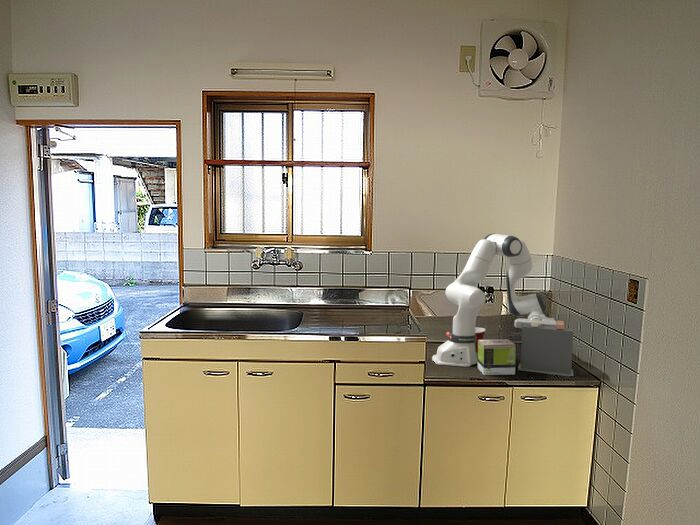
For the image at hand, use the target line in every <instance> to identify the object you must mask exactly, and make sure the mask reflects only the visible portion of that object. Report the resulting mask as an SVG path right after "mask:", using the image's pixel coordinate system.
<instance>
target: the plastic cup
mask: <svg viewBox="0 0 700 525" xmlns="http://www.w3.org/2000/svg"><path fill="white" fill-rule="evenodd" d="M485 332H486V328H483V327H476V326H475V334H476V345H475V350H476V353H478V340H484V336H485Z"/></svg>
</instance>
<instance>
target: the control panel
mask: <svg viewBox="0 0 700 525" xmlns="http://www.w3.org/2000/svg"><path fill="white" fill-rule="evenodd" d="M573 343H574V329H573V328H571V327H564V329H557V327H552V326H540V325H538V327H532V326H531V325H529V324H523V326H522V328H521V345H520V346H521V348H520V362H519V363H518V368H517V371H523V372H530V373H531V372H532V373H539V374H546V375H547V374H548V375H553V376H556V375H557V376H564V377H570V376H573V377H574V370H573V369H572V364H573Z"/></svg>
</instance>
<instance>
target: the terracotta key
mask: <svg viewBox="0 0 700 525" xmlns="http://www.w3.org/2000/svg"><path fill="white" fill-rule="evenodd" d="M556 322H557V329H564V328H565V323H564V320H556ZM555 327H556V326H555Z"/></svg>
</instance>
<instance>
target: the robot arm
mask: <svg viewBox="0 0 700 525" xmlns="http://www.w3.org/2000/svg"><path fill="white" fill-rule="evenodd" d="M496 256H498V257H507V259H508V263H509V269H508V271H507V272H506V275H505V281H506V294H507V310H508V313H509V314H510V315H511V316H514V317H518V316H523V315H527V314H528V316H527V318H516V319H515V320H514V327H515V328H516V329H517V328H518V329H522V326H523V324H529V325H531V322H532V318H533V319H539V325H540V326H552V327H555V326H556V327H557V320H555V318H554V317H550V316H546V315H545V312H546V304H545V300H544V298H543V297H542V296H541V295H540V294H538V293H531V294H527V295H522V296H516V290H515V289H516V288H515V285H516V283H518V282H519V281H520V280H521V279H524V278H525V277H526V276H527V275H529V274H530V273H531V271H533V270H532V269H533V261H532V257H531V253H530V251H529V248H528V246H527V244H526V243H525V241H524V240H522V239H519V238H518V237H516V236H514V235H509V234H504V233H490V234H487V235H485V237H484V238H483V239H480V240H479V241H477V243H476V244H475V246H474V247H473V250H472V252H471V254H470V256H469V258H468V260H467V262H466V263H465V266H464V268H463V270H462V272H461V273H460V274H459V276H458V277H456V279H455V280H454V281H453V282H452V283H450V284H448V286H447V287H446V289H445V292H444V293H445V297H446V298H447V300H449V302H450V303H452V304H454V305H457V306H458V309H457V312H456V314H455V315H454V316H453V318H452V332H451V333H450V332H449V331H447V332H446V337H447V338H448V340H446V341H444V343H443V342H442V344H440V345H439V346H438V347H437V351H436V354H433V355H432V357H431V360H432V362H433V361H434V362H435V363H434V362H433V363H434V364H436V365H440V366H453V367H468V368H469V367H470V366H472V365H475V364H478V356H477V352H476V350H475V345H476V334H475V327H476V322H477V317H478V313H479V311H480V310H481V309H482V308H483V306H484V305H485V304H486V300H487V299H486V294H485V293H484V291H483V290H481V289H480V288H478V287H477V286H478V284H479V283H480V282H482V281H484V280H485V279H486V277H487V275H488V273H489V271H490V268H491V266H492V264H493V261H494V258H495V257H496Z"/></svg>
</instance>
